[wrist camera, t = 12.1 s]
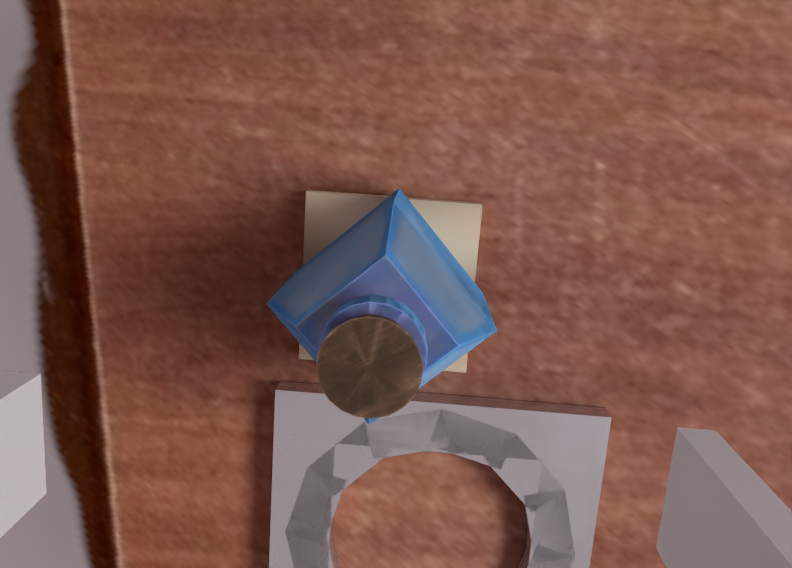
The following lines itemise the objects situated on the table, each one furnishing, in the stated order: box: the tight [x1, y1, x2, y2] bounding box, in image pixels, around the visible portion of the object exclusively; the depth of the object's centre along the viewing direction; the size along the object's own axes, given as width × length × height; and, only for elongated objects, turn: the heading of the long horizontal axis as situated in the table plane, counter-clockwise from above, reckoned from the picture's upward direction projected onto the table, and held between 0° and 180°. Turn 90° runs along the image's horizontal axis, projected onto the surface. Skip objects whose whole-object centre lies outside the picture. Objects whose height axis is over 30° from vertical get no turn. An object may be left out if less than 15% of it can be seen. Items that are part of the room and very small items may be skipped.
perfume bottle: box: [266, 188, 497, 425], centre depth 26 cm, size 6×6×12 cm
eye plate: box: [269, 381, 611, 568], centre depth 35 cm, size 15×16×1 cm
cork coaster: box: [299, 190, 482, 372], centre depth 32 cm, size 8×8×1 cm
